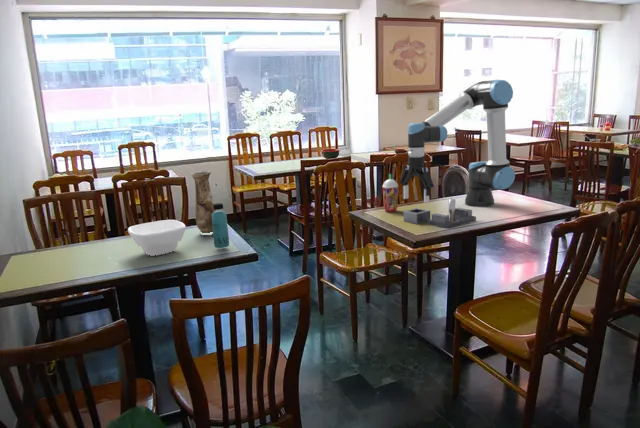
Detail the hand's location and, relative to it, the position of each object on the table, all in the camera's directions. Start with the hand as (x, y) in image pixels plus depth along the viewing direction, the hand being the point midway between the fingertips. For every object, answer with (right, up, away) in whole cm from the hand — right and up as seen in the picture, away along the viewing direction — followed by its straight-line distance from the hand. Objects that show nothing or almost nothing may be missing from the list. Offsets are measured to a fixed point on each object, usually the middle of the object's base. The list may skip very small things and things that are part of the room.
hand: (416, 200), depth 238 cm
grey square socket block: (+1, -10, +2) cm, 10 cm away
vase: (-100, -16, 0) cm, 101 cm away
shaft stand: (+16, -10, -4) cm, 20 cm away
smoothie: (-8, -5, +26) cm, 28 cm away
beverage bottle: (-88, -22, -27) cm, 95 cm away
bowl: (-115, -23, -27) cm, 120 cm away
